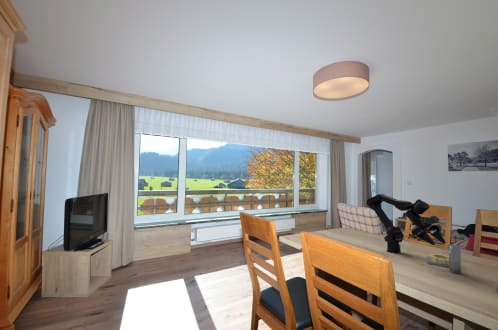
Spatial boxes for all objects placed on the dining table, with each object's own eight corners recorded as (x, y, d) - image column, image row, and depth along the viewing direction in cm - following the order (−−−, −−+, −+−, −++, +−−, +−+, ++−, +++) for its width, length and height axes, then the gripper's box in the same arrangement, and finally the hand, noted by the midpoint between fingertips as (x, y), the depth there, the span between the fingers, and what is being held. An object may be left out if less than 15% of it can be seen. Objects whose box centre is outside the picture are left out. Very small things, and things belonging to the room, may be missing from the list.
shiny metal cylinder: (449, 272, 108) (448, 245, 109) (449, 269, 111) (448, 244, 112) (462, 275, 105) (460, 247, 106) (461, 272, 108) (459, 245, 109)
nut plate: (427, 263, 119) (427, 257, 120) (427, 257, 128) (427, 251, 129) (457, 269, 112) (457, 262, 112) (455, 263, 121) (455, 256, 121)
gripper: (416, 211, 117) (441, 237, 106) (437, 210, 124) (463, 234, 113) (402, 223, 124) (424, 248, 113) (422, 221, 131) (445, 245, 120)
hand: (439, 244), depth 115 cm, fingers open, 9 cm apart
